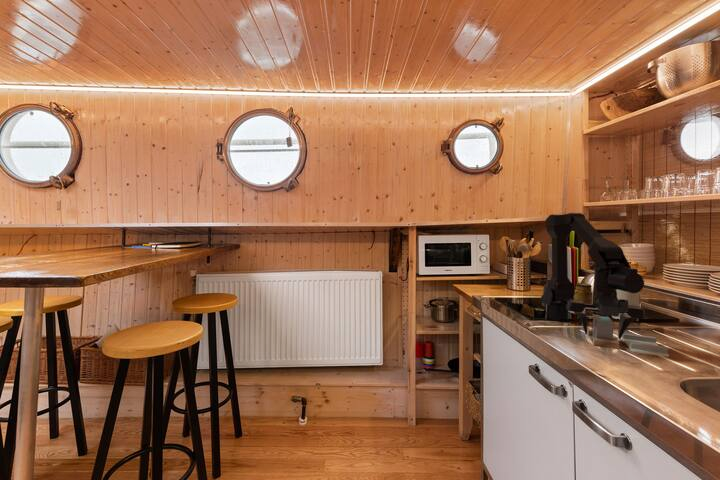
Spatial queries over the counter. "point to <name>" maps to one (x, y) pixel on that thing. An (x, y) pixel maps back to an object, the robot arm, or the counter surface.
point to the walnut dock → (602, 341)
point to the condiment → (584, 296)
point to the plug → (603, 328)
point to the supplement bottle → (545, 290)
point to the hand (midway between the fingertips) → (602, 336)
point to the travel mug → (631, 297)
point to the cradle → (644, 344)
